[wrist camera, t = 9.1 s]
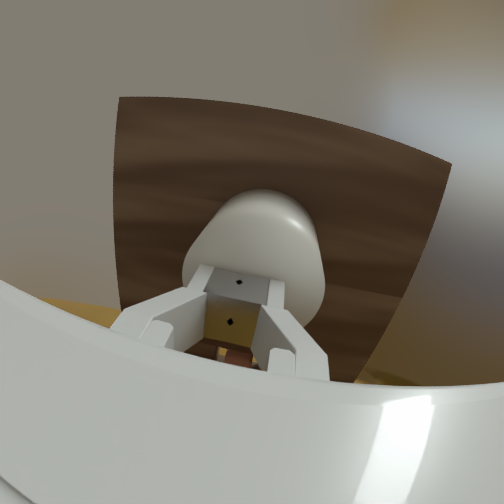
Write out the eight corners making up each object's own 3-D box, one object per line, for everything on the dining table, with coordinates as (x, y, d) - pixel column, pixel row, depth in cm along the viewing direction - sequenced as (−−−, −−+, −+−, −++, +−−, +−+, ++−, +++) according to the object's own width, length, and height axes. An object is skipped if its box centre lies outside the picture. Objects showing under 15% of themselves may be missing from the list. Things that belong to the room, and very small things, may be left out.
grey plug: (302, 351, 11) (344, 238, 8) (180, 324, 11) (186, 205, 9) (299, 246, 20) (317, 177, 17) (229, 231, 20) (240, 161, 18)
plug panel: (310, 457, 19) (474, 172, 8) (131, 417, 20) (94, 96, 9) (311, 405, 25) (419, 152, 14) (154, 371, 25) (155, 99, 14)
